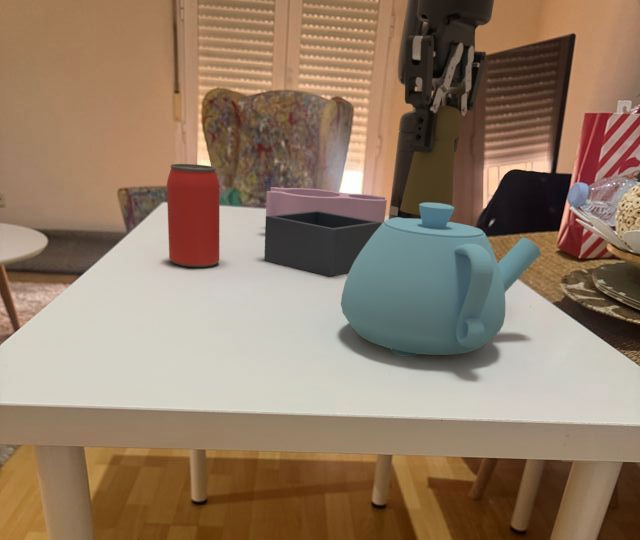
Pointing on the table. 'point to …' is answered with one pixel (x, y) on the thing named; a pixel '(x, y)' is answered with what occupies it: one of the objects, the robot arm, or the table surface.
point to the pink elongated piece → (325, 203)
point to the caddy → (316, 240)
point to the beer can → (193, 215)
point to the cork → (434, 165)
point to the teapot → (431, 284)
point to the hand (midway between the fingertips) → (434, 151)
